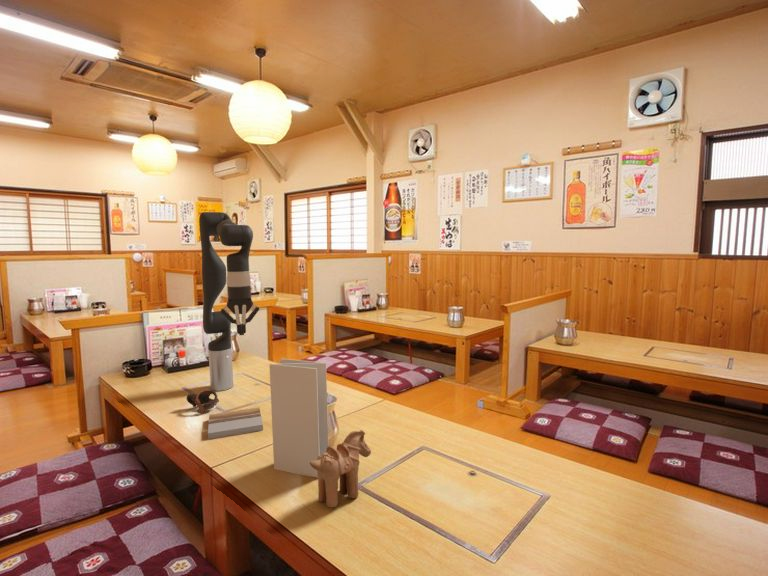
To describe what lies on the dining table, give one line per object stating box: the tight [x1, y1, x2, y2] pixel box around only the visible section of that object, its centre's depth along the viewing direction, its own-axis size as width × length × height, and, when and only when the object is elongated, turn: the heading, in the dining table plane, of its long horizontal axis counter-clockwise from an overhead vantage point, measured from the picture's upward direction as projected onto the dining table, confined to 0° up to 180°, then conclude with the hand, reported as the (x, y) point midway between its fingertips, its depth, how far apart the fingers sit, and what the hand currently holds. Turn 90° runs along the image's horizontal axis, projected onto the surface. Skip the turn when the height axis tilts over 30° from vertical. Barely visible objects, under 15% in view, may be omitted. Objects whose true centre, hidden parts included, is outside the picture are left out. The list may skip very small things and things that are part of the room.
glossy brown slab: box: [208, 407, 262, 425], centre depth 149 cm, size 8×17×2 cm, turn 111°
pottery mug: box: [186, 389, 220, 414], centre depth 159 cm, size 12×10×8 cm
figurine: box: [310, 429, 372, 508], centre depth 104 cm, size 7×18×15 cm, turn 132°
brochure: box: [269, 358, 329, 479], centre depth 115 cm, size 14×6×30 cm, turn 71°
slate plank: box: [207, 415, 264, 440], centre depth 141 cm, size 7×17×2 cm, turn 111°
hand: (241, 334), depth 144 cm, fingers closed
